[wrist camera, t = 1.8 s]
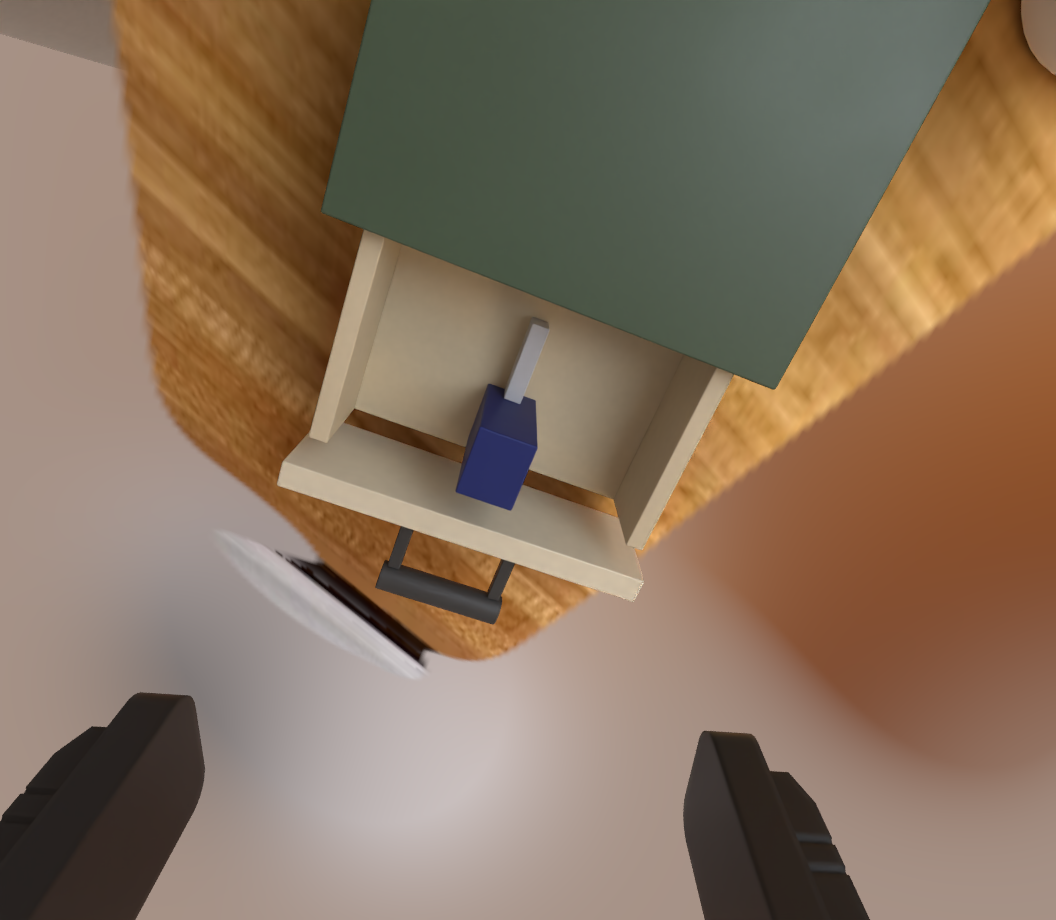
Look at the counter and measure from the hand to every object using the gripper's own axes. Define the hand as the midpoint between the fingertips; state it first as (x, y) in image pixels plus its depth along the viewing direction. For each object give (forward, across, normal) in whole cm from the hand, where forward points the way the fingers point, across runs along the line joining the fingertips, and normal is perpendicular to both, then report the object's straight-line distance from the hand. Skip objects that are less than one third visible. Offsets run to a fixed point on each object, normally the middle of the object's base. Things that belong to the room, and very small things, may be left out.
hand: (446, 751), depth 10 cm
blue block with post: (+21, -1, 0) cm, 21 cm away
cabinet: (+23, -4, -12) cm, 26 cm away
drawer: (+22, 0, +2) cm, 22 cm away
